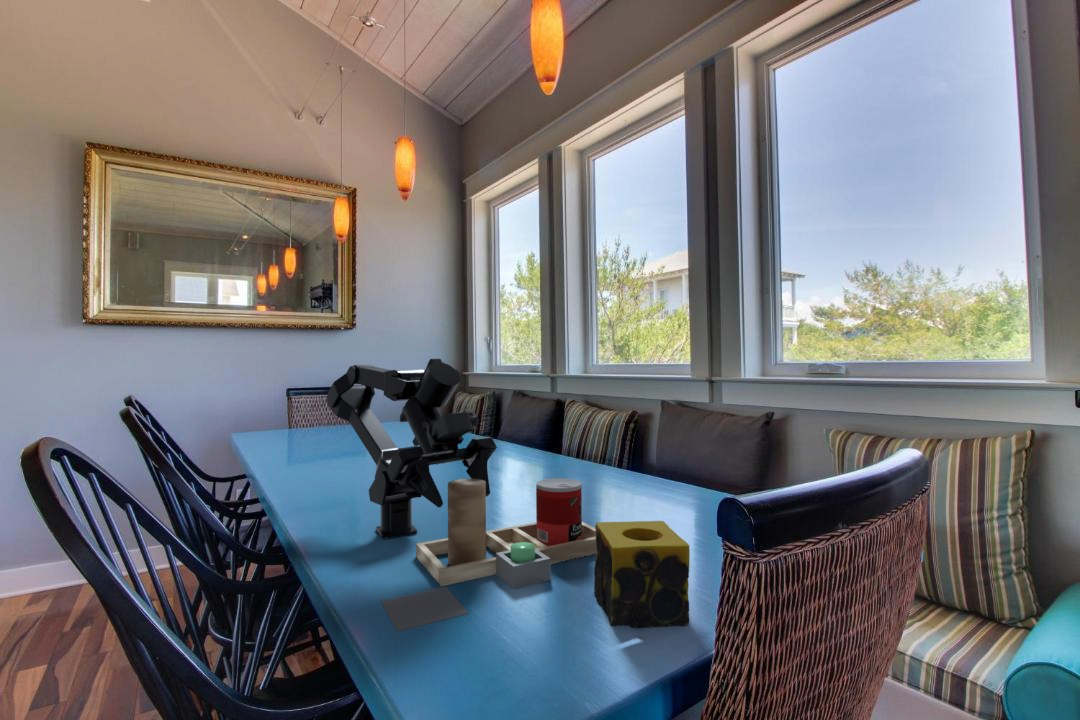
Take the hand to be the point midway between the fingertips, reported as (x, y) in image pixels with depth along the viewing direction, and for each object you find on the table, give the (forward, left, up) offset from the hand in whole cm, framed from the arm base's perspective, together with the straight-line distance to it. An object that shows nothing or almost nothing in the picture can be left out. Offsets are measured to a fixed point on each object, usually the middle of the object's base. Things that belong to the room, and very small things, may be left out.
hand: (465, 500), depth 83 cm
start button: (+10, +5, -8) cm, 14 cm away
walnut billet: (0, 0, -10) cm, 10 cm away
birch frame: (0, +9, -10) cm, 13 cm away
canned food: (0, +17, -10) cm, 20 cm away
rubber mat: (+12, -10, -10) cm, 19 cm away
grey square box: (+10, +5, -10) cm, 15 cm away
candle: (+25, +14, -10) cm, 31 cm away
